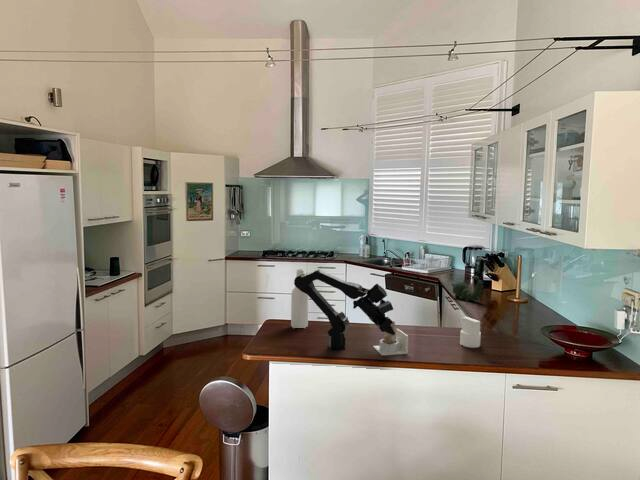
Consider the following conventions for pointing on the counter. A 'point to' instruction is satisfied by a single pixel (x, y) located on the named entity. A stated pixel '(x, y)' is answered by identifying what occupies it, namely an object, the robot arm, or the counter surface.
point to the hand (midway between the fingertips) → (392, 332)
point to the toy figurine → (465, 293)
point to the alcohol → (299, 306)
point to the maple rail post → (389, 335)
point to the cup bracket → (394, 345)
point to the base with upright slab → (470, 332)
